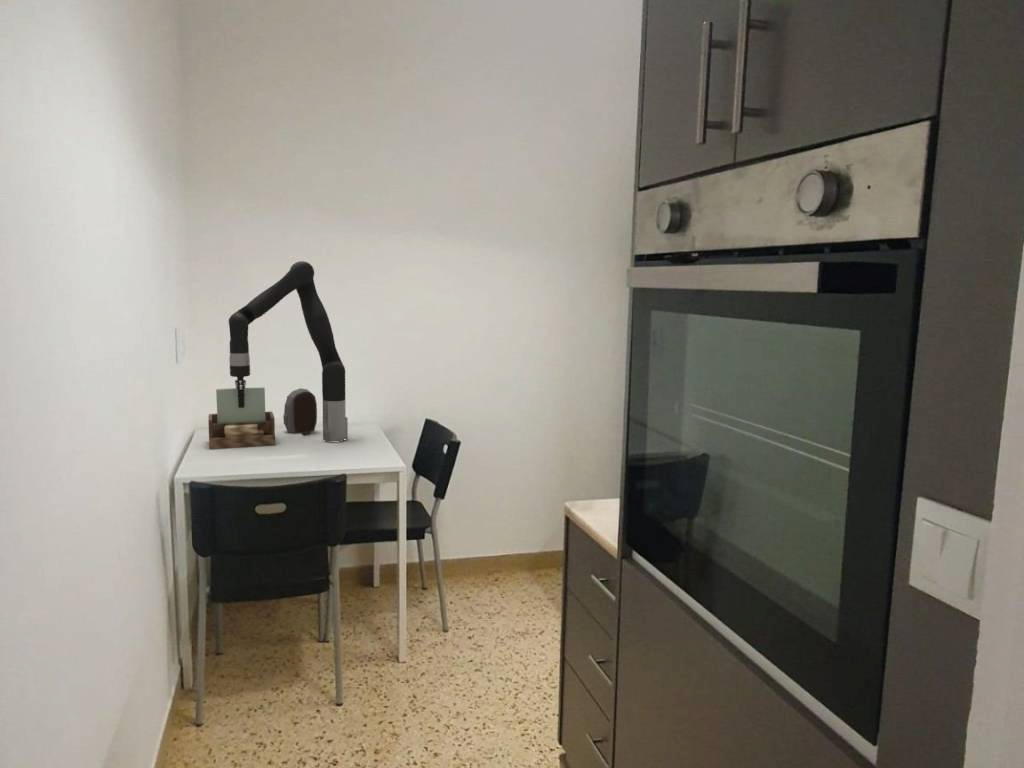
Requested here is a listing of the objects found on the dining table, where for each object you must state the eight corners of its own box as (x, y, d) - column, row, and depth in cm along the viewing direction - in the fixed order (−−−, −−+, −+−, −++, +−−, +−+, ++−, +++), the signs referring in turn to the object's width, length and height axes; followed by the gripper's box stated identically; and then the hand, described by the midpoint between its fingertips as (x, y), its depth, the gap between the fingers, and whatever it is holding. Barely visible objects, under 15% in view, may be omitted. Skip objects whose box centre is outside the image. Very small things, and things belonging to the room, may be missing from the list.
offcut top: (257, 430, 290) (257, 424, 289) (257, 433, 285) (257, 426, 285) (225, 431, 286) (225, 425, 286) (224, 434, 281) (224, 428, 281)
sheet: (265, 435, 296) (264, 387, 293) (266, 436, 295) (264, 388, 292) (218, 438, 290) (216, 389, 287) (218, 439, 288) (216, 389, 285)
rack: (272, 441, 300) (272, 411, 298) (275, 449, 287) (274, 418, 285) (209, 444, 291) (208, 414, 289) (209, 453, 278) (208, 421, 276)
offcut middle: (262, 435, 292) (262, 429, 291) (263, 438, 287) (263, 432, 287) (224, 438, 286) (224, 431, 285) (225, 440, 281) (225, 434, 281)
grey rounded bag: (289, 437, 306) (288, 391, 303) (279, 434, 312) (278, 388, 309) (320, 432, 317) (320, 387, 314) (310, 429, 323) (310, 385, 320)
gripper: (250, 366, 283) (252, 409, 285) (249, 361, 295) (250, 403, 298) (229, 366, 280) (231, 410, 283) (229, 362, 292) (230, 404, 295)
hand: (241, 406), depth 290 cm, fingers closed on sheet, 2 cm apart
